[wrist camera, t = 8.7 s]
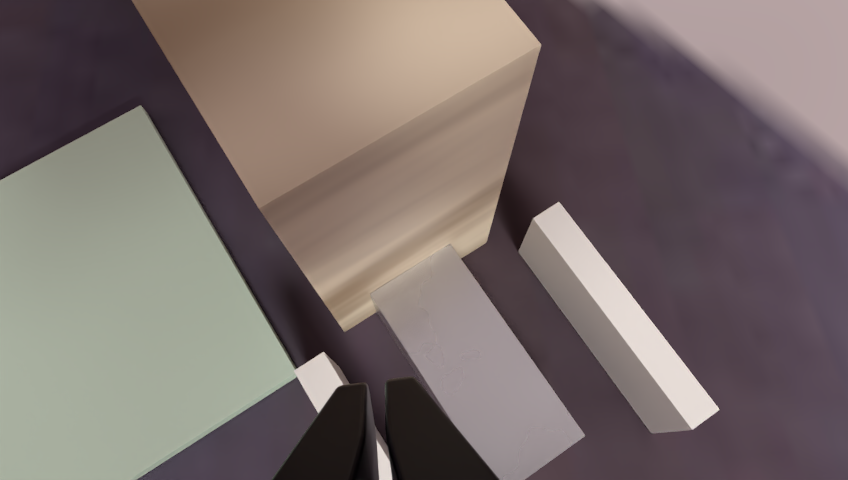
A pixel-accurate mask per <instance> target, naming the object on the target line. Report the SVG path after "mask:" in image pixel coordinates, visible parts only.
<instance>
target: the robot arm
mask: <svg viewBox="0 0 848 480" xmlns="http://www.w3.org/2000/svg"><path fill="white" fill-rule="evenodd" d="M385 420H386V439H387V446H388V453H389V460H390V467H391V473H392V480H500V479H499V478H498V477H497V476H496V474H495V473H494V472H493V471H492V470H491V468H490V467H489V466H488V465H487V464H486V462H485V461H484V460H483V459H482V458H481V456H480V455H479V454H478V453H477V452H476V450H475V449H474V448H473V447H472V446H471V444H470V443H469V442H468V441H467V440H466V438H465V437H464V436H463V435H462V434H461V432H460V431H459V430H458V429H457V427H456V426H455V425H454V424H453V423H452V421H451V420H450V419H449V418H448V417H447V415H446V414H445V413H444V412H443V411H442V409H441V408H440V407H439V406H438V405H437V403H436V402H435V401H434V400H433V399H432V397H431V396H430V395H429V394H428V393H427V391H426V390H425V389H424V388H423V387H422V385H421V384H420V383H419V382H418V381H417V379H416V378H414V377H403V378H395V379H389V380H387V381H386V383H385ZM272 480H379V469H378V453H377V439H376V430H375V424H374V417H373V411H372V404H371V398H370V391H369V387H368V385H367V384H366V383H355V384H347V385H341V386H339V387H337V388H336V389H335V391H334V392H333V394H332V395H331V396H330V398H329V399H328V401H327V402H326V403H325V405H324V406H323V408H322V409H321V411H320V412H319V413H318V415H317V416H316V418H315V419H314V420H313V422H312V423H311V425H310V426H309V428H308V429H307V430H306V432H305V433H304V435H303V436H302V437H301V439H300V440H299V442H298V443H297V444H296V446H295V447H294V449H293V450H292V452H291V453H290V454H289V456H288V457H287V459H286V460H285V461H284V463H283V464H282V466H281V467H280V468H279V470H278V471H277V473H276V474H275V476H274V477H273V478H272Z"/></svg>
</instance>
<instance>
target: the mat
mask: <svg viewBox="0 0 848 480" xmlns="http://www.w3.org/2000/svg"><path fill="white" fill-rule="evenodd" d="M296 369H297V368H296V367H295V365H294V363H293V361H292V360H291V358H290V356H289V355H288V353H287V351H286V349H285V348H284V346H283V344H282V343H281V341H280V339H279V337H278V336H277V334H276V332H275V331H274V329H273V327H272V326H271V324H270V322H269V320H268V319H267V317H266V315H265V314H264V312H263V310H262V308H261V307H260V305H259V303H258V302H257V300H256V298H255V296H254V295H253V293H252V291H251V290H250V288H249V286H248V284H247V283H246V281H245V279H244V278H243V276H242V274H241V272H240V271H239V269H238V267H237V266H236V264H235V262H234V260H233V259H232V257H231V255H230V254H229V252H228V250H227V248H226V247H225V245H224V243H223V242H222V240H221V238H220V237H219V235H218V233H217V231H216V230H215V228H214V226H213V225H212V223H211V221H210V219H209V218H208V216H207V214H206V213H205V211H204V209H203V207H202V206H201V204H200V202H199V201H198V199H197V197H196V195H195V194H194V192H193V190H192V189H191V187H190V185H189V183H188V182H187V180H186V178H185V177H184V175H183V173H182V171H181V170H180V168H179V166H178V165H177V163H176V161H175V159H174V158H173V156H172V154H171V153H170V151H169V149H168V148H167V146H166V144H165V142H164V141H163V139H162V137H161V136H160V134H159V132H158V130H157V129H156V127H155V125H154V124H153V122H152V120H151V118H150V117H149V115H148V113H147V112H146V111H145V110H144V108H143V107H142V106H141V105H140V106H138V107H136V108H134V109H133V110H131V111H129V112H127V113H125V114H123V115H121V116H119V117H118V118H116V119H114V120H112V121H110V122H108V123H106V124H104V125H103V126H101V127H99V128H97V129H95V130H93V131H91V132H90V133H88V134H86V135H84V136H82V137H80V138H78V139H76V140H75V141H73V142H71V143H69V144H67V145H65V146H63V147H62V148H60V149H58V150H56V151H54V152H52V153H50V154H48V155H47V156H45V157H43V158H41V159H39V160H37V161H35V162H34V163H32V164H30V165H28V166H26V167H24V168H22V169H20V170H19V171H17V172H15V173H13V174H11V175H9V176H7V177H5V178H4V179H2V180H0V480H137V479H138V478H140V477H141V476H143V475H145V474H146V473H148V472H149V471H151V470H152V469H154V468H155V467H157V466H159V465H160V464H162V463H163V462H165V461H166V460H168V459H170V458H171V457H173V456H174V455H176V454H177V453H179V452H180V451H182V450H184V449H185V448H187V447H188V446H190V445H191V444H193V443H195V442H196V441H198V440H199V439H201V438H202V437H204V436H205V435H207V434H209V433H210V432H212V431H213V430H215V429H216V428H218V427H220V426H221V425H223V424H224V423H226V422H227V421H229V420H231V419H232V418H234V417H235V416H237V415H238V414H240V413H241V412H243V411H245V410H246V409H248V408H249V407H251V406H252V405H254V404H256V403H257V402H259V401H260V400H262V399H263V398H265V397H266V396H268V395H270V394H271V393H273V392H274V391H276V390H277V389H279V388H281V387H282V386H284V385H285V384H287V383H288V382H290V381H291V380H293V379H295V378H296V377H297V376H296V374H295V372H294V370H296Z"/></svg>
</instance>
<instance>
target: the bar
mask: <svg viewBox="0 0 848 480" xmlns="http://www.w3.org/2000/svg"><path fill="white" fill-rule="evenodd" d="M370 296H371V299H372V301H373V304H374V307H375V310H376V313H377V314H378V316H379V317H380V319H381V320H382V322H383V323H384V325H385V327H386V328H387V330H388V331H389V333H390V334H391V336H392V338H393V339H394V341H395V342H396V344H397V345H398V347H399V348H400V350H401V352H402V353H403V355H404V356H405V358H406V359H407V361H408V362H409V364H410V366H411V367H412V369H413V370H414V372H415V373H416V375H417V376H418V378H419V380H420V381H421V383H422V384H423V386H424V387H425V389H426V390H427V392H428V394H429V395H430V396H431V397H432V399H433V400H434V401H435V402H436V403H437V405H438V406H439V407H440V408H441V409H442V411H443V412H444V413H445V414H446V415H447V417H448V418H449V419H450V420H451V421H452V423H453V424H454V425H455V426H456V427H457V429H458V430H459V431H460V432H461V434H462V435H463V436H464V437H465V438H466V440H467V441H468V442H469V443H470V444H471V446H472V447H473V448H474V449H475V450H476V452H477V453H478V454H479V455H480V456H481V458H482V459H483V460H484V461H485V462H486V464H487V465H488V466H489V467H490V468H491V470H492V471H493V472H494V473H495V474H496V476H497V477H498V478H499V479H500V480H525V479H526V478H527V477H529V476H530V475H532V474H533V473H534V472H536V471H537V470H538V469H540V468H541V467H543V466H544V465H545V464H547V463H548V462H550V461H551V460H552V459H554V458H555V457H557V456H558V455H559V454H561V453H562V452H563V451H565V450H566V449H568V448H569V447H570V446H572V445H573V444H575V443H576V442H577V441H579V440H580V439H582V438H583V437H584V436H585V435H584V433H583V432H582V430H581V429H580V428H579V426H578V425H577V423H576V422H575V420H574V419H573V418H572V416H571V415H570V413H569V412H568V411H567V409H566V408H565V406H564V405H563V403H562V402H561V401H560V399H559V398H558V396H557V395H556V393H555V392H554V391H553V389H552V388H551V386H550V385H549V383H548V382H547V381H546V379H545V378H544V376H543V375H542V374H541V372H540V371H539V369H538V368H537V366H536V365H535V364H534V362H533V361H532V359H531V358H530V356H529V355H528V354H527V352H526V351H525V349H524V348H523V346H522V345H521V344H520V342H519V341H518V339H517V338H516V337H515V335H514V334H513V332H512V331H511V329H510V328H509V327H508V325H507V324H506V322H505V321H504V319H503V318H502V317H501V315H500V314H499V312H498V311H497V309H496V308H495V307H494V305H493V304H492V302H491V301H490V300H489V298H488V297H487V295H486V294H485V292H484V291H483V290H482V288H481V287H480V285H479V284H478V282H477V281H476V280H475V278H474V277H473V275H472V274H471V272H470V271H469V270H468V268H467V267H466V265H465V264H464V263H463V261H462V260H461V258H460V257H459V255H458V254H457V253H456V251H455V250H454V248H453V247H452V245H451V244H448V245H447V246H445V247H444V248H442V249H440V250H439V251H437V252H436V253H434V254H432V255H431V256H429V257H428V258H426V259H425V260H423V261H421V262H420V263H418V264H417V265H415V266H413V267H412V268H410V269H409V270H407V271H405V272H404V273H402V274H401V275H399V276H398V277H396V278H394V279H393V280H391V281H390V282H388V283H386V284H385V285H383V286H382V287H380V288H378V289H377V290H375V291H374V292H372V293H371V294H370Z"/></svg>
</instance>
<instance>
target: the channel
mask: <svg viewBox="0 0 848 480" xmlns="http://www.w3.org/2000/svg"><path fill="white" fill-rule="evenodd" d="M518 252H519V254H520V255H521V256H522V258H523V259H524V260H525V262H526V263H527V265H528V266H529V267H530V269H531V270H532V271H533V273H534V274H535V275H536V277H537V278H538V280H539V281H540V282H541V284H542V285H543V286H544V288H545V289H546V290H547V292H548V293H549V295H550V296H551V297H552V299H553V300H554V301H555V303H556V304H557V305H558V307H559V308H560V310H561V311H562V312H563V314H564V315H565V316H566V318H567V319H568V320H569V322H570V323H571V325H572V326H573V327H574V329H575V330H576V331H577V333H578V334H579V335H580V337H581V338H582V340H583V341H584V342H585V344H586V345H587V346H588V348H589V349H590V351H591V352H592V353H593V355H594V356H595V357H596V359H597V360H598V361H599V363H600V364H601V366H602V367H603V368H604V370H605V371H606V372H607V374H608V375H609V376H610V378H611V379H612V381H613V382H614V383H615V385H616V386H617V387H618V389H619V390H620V391H621V393H622V394H623V396H624V397H625V398H626V400H627V401H628V402H629V404H630V405H631V406H632V408H633V409H634V411H635V412H636V413H637V415H638V416H639V417H640V419H641V420H642V422H643V423H644V424H645V426H646V427H647V428H648V430H649V431H650V432H651V433H662V432H674V431H685V430H693V429H694V428H696V427H697V426H698V425H700V424H701V423H702V422H704V421H705V420H706V419H708V418H709V417H710V416H712V415H713V414H714V413H716V412H717V411H718V410H720V409H719V408H718V407H717V406H716V404H715V403H714V402H713V400H712V399H711V398H710V396H709V395H708V394H707V393H706V391H705V390H704V389H703V387H702V386H701V385H700V384H699V382H698V381H697V380H696V378H695V377H694V376H693V374H692V373H691V372H690V371H689V369H688V368H687V367H686V365H685V364H684V363H683V362H682V360H681V359H680V358H679V356H678V355H677V354H676V352H675V351H674V350H673V349H672V347H671V346H670V345H669V343H668V342H667V341H666V340H665V338H664V337H663V336H662V334H661V333H660V332H659V331H658V329H657V328H656V327H655V325H654V324H653V323H652V321H651V320H650V319H649V318H648V316H647V315H646V314H645V312H644V311H643V310H642V309H641V307H640V306H639V305H638V303H637V302H636V301H635V299H634V298H633V297H632V296H631V294H630V293H629V292H628V290H627V289H626V288H625V287H624V285H623V284H622V283H621V281H620V280H619V279H618V277H617V276H616V275H615V274H614V272H613V271H612V270H611V268H610V267H609V266H608V265H607V263H606V262H605V261H604V259H603V258H602V257H601V255H600V254H599V253H598V252H597V250H596V249H595V248H594V246H593V245H592V244H591V243H590V241H589V240H588V239H587V237H586V236H585V235H584V233H583V232H582V231H581V230H580V228H579V227H578V226H577V224H576V223H575V222H574V221H573V219H572V218H571V217H570V215H569V214H568V213H567V212H566V210H565V209H564V208H563V206H562V205H561V204H560V202H558V203H556V204H555V205H553V206H552V207H550V208H548V209H547V210H545V211H544V212H542V213H541V214H539V215H537V216H536V217H534V218H533V219H532V222H531V224H530V226H529V228H528V231H527V233H526V235H525V237H524V240H523V242H522V244H521V246H520V249H519V251H518ZM294 372H295V374H296V376H297V378H298V379H299V381H300V383H301V384H302V386H303V388H304V390H305V391H306V393H307V395H308V396H309V398H310V400H311V402H312V403H313V405H314V407H315V408H316V410H317V412H318V413H319V412H320V411H321V409H322V408H323V406H324V405H325V403H326V402H327V401H328V399H329V398H330V396H331V395H332V394H333V392H334V391H335V389H336V388H337V387H339V386H341V385H347V384H349V382H348V380H347V379H346V377H345V375H344V374H343V372H342V370H341V369H340V367H339V366H338V365H337V364H336V363H335V362H334V361H333V360H332V359H331V358H330V357H329V356H328V355H327V354H325V353H324V352H322V353H321V354H319V355H318V356H316V357H315V358H313V359H311V360H310V361H308V362H307V363H305V364H304V365H302V366H300V367H299V368H297V369H296V370H294ZM375 430H376V439H377V453H378V469H379V480H392V473H391V467H390V460H389V453H388V446H387V445H386V443H385V441H384V440H383V438H382V436H381V435H380V433H379V431H378V430H377V428H376V427H375Z"/></svg>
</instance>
